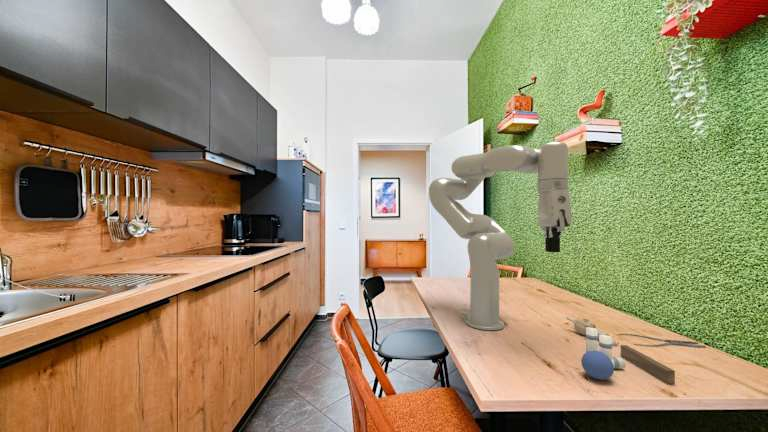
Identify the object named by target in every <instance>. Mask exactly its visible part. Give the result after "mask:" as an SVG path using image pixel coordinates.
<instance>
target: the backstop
mask: <svg viewBox="0 0 768 432" xmlns="http://www.w3.org/2000/svg"><path fill="white" fill-rule="evenodd" d="M621 356H622V357H621ZM620 357H621V358H622V359H624V358H625V360H626V361H628V362H629V361H630V362H629V363H631V364H633V365H634V364H635V365H634V366H635V367H637V368H639V367H640V369H641V368H642V369H641V370H642V371H644V370H645V371H644V372H646V373H648V374H649V373H650V375H651V376H652V377H654V376H655V377H654V378H656V377H657V378H656V379H657V380H659V379H660V380H659V381H661V380H662V381H661V382H663V383H664V382H665V384H666V383H667V384H666V385H668V384H675V385H676V377H675V376H676V375H675V374H676V373H675V371H676V370H674V369H672V368H670V367H668V366H666V365H665V364H663V363H660V362H659V361H657V360H655V359H653V358H652V357H650V356H647V355H645V354H644V353H643V352H640V351H638V350H637V349H634V348H633V347H631V346H629V345H627V344H620Z"/></svg>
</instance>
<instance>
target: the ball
mask: <svg viewBox="0 0 768 432" xmlns="http://www.w3.org/2000/svg"><path fill="white" fill-rule="evenodd" d="M581 366H582V369H583V370H584V372H585V373H586V374H587V375H589V376H590V377H591V378H593V379H595V380H598V381H599V380H600V381H605V380H608V379H610V378H611V377H612V376H613V375H614V372H615V369H614V366H613V363H612V361H611V359H610V358H609V357H608V356H607V355H605V354H604V353H602V352H600V351H599V350H598V351H595V350H592V351H588V352H586V351H585V353H584V354H582V357H581Z"/></svg>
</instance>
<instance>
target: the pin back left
mask: <svg viewBox="0 0 768 432" xmlns="http://www.w3.org/2000/svg"><path fill="white" fill-rule="evenodd" d="M598 331H599V330H598V329H597V328H591V327H586V336H585V353H586V352H588V351H592V350H595V351H599V349H598V348H599V340H598V339H599V338H598Z"/></svg>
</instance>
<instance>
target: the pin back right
mask: <svg viewBox="0 0 768 432" xmlns="http://www.w3.org/2000/svg"><path fill="white" fill-rule="evenodd" d="M608 335H609V334H608ZM608 335H599V338H598V339H599V340H598V348H599V349H598V351H600V352H602V353H604V354H605V355H607V356H608V357H609V358H610V359H611V361H612V357H613V344H612V340H613V338H612V336H611V335H610V336H608Z"/></svg>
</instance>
